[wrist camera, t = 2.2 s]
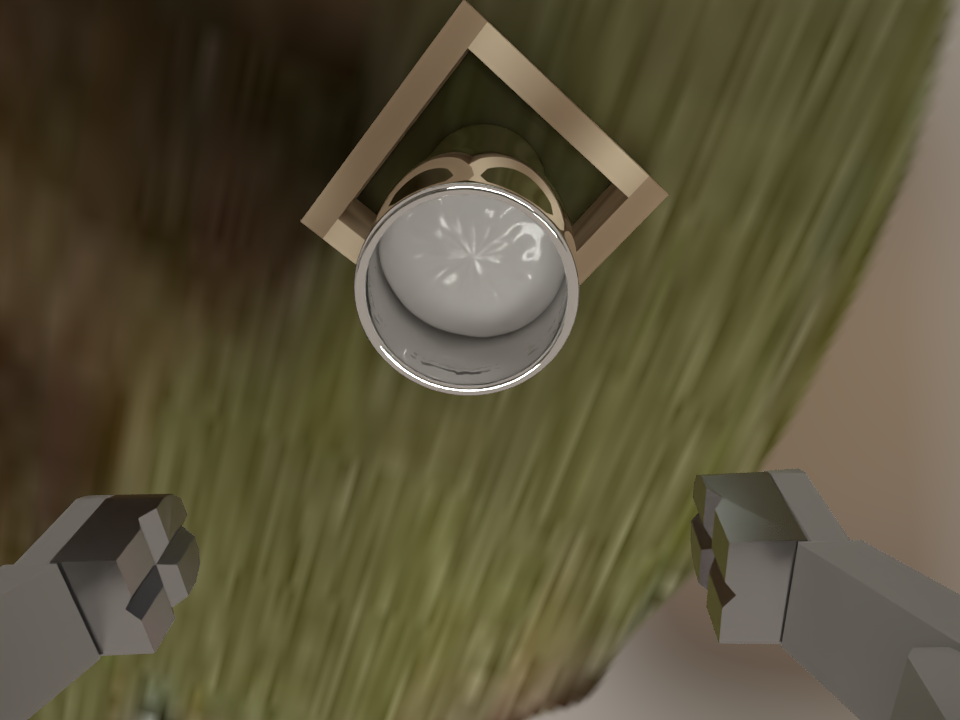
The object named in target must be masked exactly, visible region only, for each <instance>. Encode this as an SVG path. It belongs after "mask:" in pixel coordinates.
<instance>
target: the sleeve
mask: <svg viewBox="0 0 960 720" xmlns="http://www.w3.org/2000/svg"><path fill="white" fill-rule="evenodd" d="M469 50H470V51H472V52H473V53H474V54H475V55H476V56H477V57H478V58H479V59H480V60H481V61H482V62H483V63H484V64H486V65H487V66H488V67H489V68H490V69H491V70H492V71H493V72H494V73H495V74H496V75H497V76H498V77H499V78H501V79H502V80H503V81H504V82H505V83H506V84H507V85H508V86H509V87H510V88H511V89H512V90H513V91H515V92H516V93H517V94H518V95H519V96H520V97H521V98H522V99H523V100H524V101H525V102H526V103H527V104H528V105H530V106H531V107H532V108H533V109H534V110H535V111H536V112H537V113H538V114H539V115H540V116H541V117H542V118H544V119H545V120H546V121H547V122H548V123H549V124H550V125H551V126H552V127H553V128H554V129H555V130H556V131H558V132H559V133H560V134H561V135H562V136H563V137H564V138H565V139H566V140H567V141H568V142H569V143H570V144H571V145H573V146H574V147H575V148H576V149H577V150H578V151H579V152H580V153H581V154H582V155H583V156H584V157H585V158H587V159H588V160H589V161H590V162H591V163H592V164H593V165H594V166H595V167H596V168H597V169H598V170H599V171H600V172H602V173H603V174H604V175H605V176H606V177H607V178H608V179H609V180H610V181H611V182H612V183H611V185H610V186H609V187H608V188H607V189H606V190H605V191H604V192H603V193H602V194H601V195H600V196H599V197H598V198H597V200H596V201H595V202H594V203H593V204H592V205H591V206H590V207H589V208H588V209H587V210H586V211H585V212H584V214H583V215H582V216H581V217H580V218H579V219H578V220H577V221H576V222H575V223H574V224H573V225H572V230H573V235H574V240H575V245H576V254H577V273H578V279H579V286H580V285H581V284H582V283H583V282H584V281H585V280H586V279H587V278H588V277H589V275H590V274H591V273H592V272H593V271H594V270H595V269H596V268H597V267H598V266H599V265H600V264H601V263H602V262H603V261H604V260H605V259H606V258H607V257H608V256H609V255H610V254H611V253H612V252H613V251H614V250H615V249H616V248H617V247H618V246H619V245H620V244H621V243H622V242H623V241H624V240H625V239H626V238H627V237H628V236H629V235H630V234H631V233H632V232H633V231H634V230H635V229H636V228H637V227H638V226H639V224H640V223H641V222H642V221H643V220H644V219H645V218H646V217H647V216H648V215H649V214H650V213H651V212H652V211H653V210H654V209H655V208H656V207H657V206H658V205H659V204H660V203H661V202H662V201H663V200H664V199H665V198H666V197H667V196H668V195H669V194H668V193H667V192H666V191H665V190H664V189H663V188H662V187H661V186H660V185H659V184H658V183H657V182H656V181H655V180H654V179H653V178H652V177H651V176H650V175H649V174H648V173H647V172H646V171H645V170H644V169H643V168H642V167H641V166H640V165H638V164H637V163H636V162H635V161H634V160H633V159H632V158H631V157H630V156H629V155H628V154H627V153H626V152H625V151H624V150H623V149H622V148H621V147H620V146H619V145H617V144H616V143H615V142H614V141H613V140H612V139H611V138H610V137H609V136H608V135H607V134H606V133H605V132H604V131H603V130H602V129H601V128H600V127H599V126H598V125H597V124H595V123H594V122H593V121H592V120H591V119H590V118H589V117H588V116H587V115H586V114H585V113H584V112H583V111H582V110H581V109H580V108H579V107H578V106H577V105H576V104H575V103H573V102H572V101H571V100H570V99H569V98H568V97H567V96H566V95H565V94H564V93H563V92H562V91H561V90H560V89H559V88H558V87H557V86H556V85H555V84H554V83H552V82H551V81H550V80H549V79H548V78H547V77H546V76H545V75H544V74H543V73H542V72H541V71H540V70H539V69H538V68H537V67H536V66H535V65H534V64H533V63H532V62H530V61H529V60H528V59H527V58H526V57H525V56H524V55H523V54H522V53H521V52H520V51H519V50H518V49H517V48H516V47H515V46H514V45H513V44H512V43H511V42H509V41H508V40H507V39H506V38H505V37H504V36H503V35H502V34H501V33H500V32H499V31H498V30H497V29H496V28H495V27H494V26H493V25H492V24H491V23H490V22H489V21H487V20H486V19H485V18H484V17H483V16H482V15H481V14H480V13H479V12H478V11H477V10H476V9H475V8H474V7H473V6H472V5H471V4H470V3H468V2H467V1H465V0H463V1H462V2H461V4H460V5H459V6H458V8H457V9H456V11H455V12H454V13H453V15H452V16H451V17H450V19H449V20H448V21H447V23H446V24H445V26H444V27H443V28H442V30H441V31H440V32H439V34H438V35H437V36H436V38H435V39H434V40H433V42H432V43H431V45H430V46H429V47H428V49H427V50H426V51H425V53H424V54H423V55H422V57H421V58H420V60H419V61H418V62H417V64H416V65H415V66H414V68H413V69H412V70H411V72H410V73H409V75H408V76H407V77H406V79H405V80H404V81H403V83H402V84H401V85H400V87H399V88H398V89H397V91H396V92H395V94H394V95H393V96H392V98H391V99H390V100H389V102H388V103H387V104H386V106H385V107H384V109H383V110H382V111H381V113H380V114H379V115H378V117H377V118H376V119H375V121H374V122H373V123H372V125H371V126H370V128H369V129H368V130H367V132H366V133H365V134H364V136H363V137H362V138H361V140H360V141H359V143H358V144H357V145H356V147H355V148H354V149H353V151H352V152H351V153H350V155H349V156H348V158H347V159H346V160H345V162H344V163H343V164H342V166H341V167H340V168H339V170H338V171H337V172H336V174H335V175H334V177H333V178H332V179H331V181H330V182H329V183H328V185H327V186H326V187H325V189H324V190H323V192H322V193H321V194H320V196H319V197H318V198H317V200H316V201H315V202H314V204H313V205H312V206H311V208H310V209H309V211H308V212H307V213H306V215H305V216H304V217H303V219H302V220H301V222H302V223H303V224H304V225H306V226H307V227H308V228H310V229H311V230H312V231H313V232H315V233H316V234H317V235H318V236H320V237H321V238H322V239H324V240H325V241H326V242H327V243H329V244H330V245H331V246H333V247H334V248H335V249H336V250H338V251H339V252H340V253H342V254H343V255H344V256H345V257H347V258H348V259H349V260H351V261H352V262H353V263H354V264H357V260H358V256H359V253H360V251H361V248H362V246H363V244H364V242H365V240H366V238H367V236H368V234H369V231H370V229H371V226H372V224H373V221H374V219H375V217H376V214H375V213H374V212H372V211H371V210H370V209H369V208H367V207H366V206H365V205H364V204H363V203H361V202H360V201H359V200H358V199H357V197H358V196H359V195H360V193H361V192H362V191H363V189H364V188H365V187H366V186H367V184H368V183H369V182H370V180H371V179H372V178H373V176H374V175H375V174H376V172H377V171H378V170H379V168H380V167H381V166H382V165H383V163H384V162H385V161H386V159H387V158H388V157H389V155H390V154H391V153H392V151H393V150H394V149H395V148H396V146H397V145H398V144H399V142H400V141H401V140H402V138H403V137H404V136H405V134H406V133H407V132H408V130H409V129H410V128H411V127H412V125H413V124H414V123H415V121H416V120H417V119H418V117H419V116H420V115H421V113H422V112H423V111H424V109H425V108H426V107H427V106H428V104H429V103H430V102H431V100H432V99H433V98H434V96H435V95H436V94H437V92H438V91H439V90H440V89H441V87H442V86H443V85H444V83H445V82H446V81H447V79H448V78H449V77H450V75H451V74H452V73H453V71H454V70H455V69H456V68H457V66H458V65H459V64H460V62H461V61H462V60H463V58H464V57H465V56H466V54H467V53H468V52H469Z"/></svg>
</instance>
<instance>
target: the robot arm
mask: <svg viewBox="0 0 960 720" xmlns="http://www.w3.org/2000/svg"><path fill="white" fill-rule="evenodd" d="M693 499H694V502H695V505H696V507H697V510H698V514H697V515H696V516H695V517H694V518H693V519H692V521H691V551H692V559H693V564H694V569H695V572H696V576H697V579H698V582H699V584H700V585H702V586H703V587H704V588H706V589H707V590H708V595H707V609H708V612H709V615H710V618H711V621H712V624H713V627H714V630H715V633H716V636H717V639H718V642H719V643H741V644H745V643H747V644H782V646H781V647H782V648H783V649H784V650H785V651H786V652H788V653H789V654H790V655H791V656H792V657H793V658H794V659H795V660H796V661H797V662H798V663H799V664H800V665H801V666H803V667H804V668H805V669H806V670H807V671H808V672H809V673H810V674H811V675H812V676H814V678H815V679H817V680H818V681H819V682H820V683H821V684H822V685H823V686H824V687H825V688H826V689H827V690H828V691H829V692H831V693H832V694H833V695H834V696H835V697H836V698H837V699H838V700H839V701H840V702H841V703H842V704H844V705H845V706H846V707H847V708H848V709H849V710H850V711H851V712H852V713H853V714H855V716H857V717H858V718H859V719H860V720H960V594H958V593H956V592H954V591H952V590H951V589H949V588H947V587H945V586H944V585H942V584H940V583H938V582H936V581H934V580H933V579H931V578H929V577H927V576H925V575H924V574H922V573H920V572H918V571H916V570H915V569H913V568H911V567H909V566H907V565H906V564H903V563H902V562H900V561H898V560H896V559H895V558H893V557H891V556H889V555H887V554H886V553H884V552H882V551H880V550H878V549H877V548H875V547H873V546H871V545H869V544H868V543H866V542H864V541H862V540H850V539H849V537H848V536H847V534H846V533H845V531H844V530H843V528H842V527H841V525H840V524H839V522H838V521H837V519H836V518H835V516H834V515H833V514H832V512H831V510H830V509H829V507H828V506H827V504H826V503H825V501H824V500H823V499H822V497H821V496H820V494H819V492H818V491H817V490H816V488H815V487H814V485H813V484H812V482H811V481H810V479H809V478H808V476H807V475H806V473H805V472H804V471H802V470H800V469H785V470H770V471H764V472H751V473H729V474H707V475H696V478H695V481H694V489H693ZM186 517H187V512H186V510H185V507H184V505H183V502H182V500H181V498H179V497H177V496H175V495H174V494H138V495H114V496H113V495H97V496H85V497H82V498H79V499H76V500H75V501H74V502H73V503H72V504H71V505H70V506H69V507H68V509H67V510H66V511H65V512H64V513H63V514H62V515H61V516H60V517H59V518H58V519H57V520H56V521H55V522H54V523H53V524H52V525H51V526H50V527H49V528H48V529H47V530H46V532H45V533H44V534H43V535H42V536H41V537H40V538H39V539H38V540H37V541H36V542H35V543H34V544H33V545H32V546H31V547H30V548H29V549H28V550H27V551H26V552H25V553H24V555H23V556H22V557H21V558H20V559H19V560H18V561H17V562H16V563H15V564H14V565H3V566H1V567H0V720H28V719H29V718H30V717H31V716H33V715H34V714H35V713H36V712H37V711H39V710H40V709H41V708H42V707H43V706H45V705H46V704H47V703H48V702H49V701H50V700H52V699H53V698H54V697H55V696H56V695H58V694H59V693H60V692H61V691H62V690H64V689H65V688H66V687H67V686H68V685H70V684H71V683H72V682H73V681H74V680H76V679H77V678H78V677H79V676H80V675H82V674H83V673H84V672H85V671H86V670H87V669H89V668H90V667H91V666H92V665H93V664H95V663H96V662H97V661H98V660H99V659H100V656H105V655H126V654H147V653H155V652H156V650H157V648H158V647H159V645H160V643H161V641H162V640H163V638H164V636H165V635H166V633H167V631H168V630H169V628H170V626H171V625H172V623H173V621H174V619H175V615H174V612H173V608H172V607H173V606H175V605H176V604H178V603H179V602H180V601H182V600H183V599H185V598H186V597H187V596H188V595H189V594H190V592H191V590H192V588H193V586H194V585H195V583H196V580H197V575H198V571H199V566H200V557H199V548H198V545H197V542H196V539H195V536H193V535H192V534H191V533H190V532H189V531H187V530H186V529H185V528H184V527H183V526H182V525H183V523H184V521H185V519H186Z"/></svg>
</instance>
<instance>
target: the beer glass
mask: <svg viewBox="0 0 960 720" xmlns="http://www.w3.org/2000/svg"><path fill="white" fill-rule="evenodd" d="M354 298H355V304H356V309H357V313H358V317H359V320H360V323H361V325H362V328H363V330H364V332H365V334H366V336H367V338H368V339H369V341H370V343H371V344H372V346H373V347H374V348H375V350H376V351H377V352H378V354H379V355H380V356H381V357H382V358H383V359H384V360H385V361H386V362H387V363H388V364H389V365H390V366H391V367H392V368H393V369H395V370H396V371H397V372H399V373H400V374H401V375H403V376H404V377H406V378H408V379H409V380H411V381H413V382H415V383H417V384H419V385H421V386H423V387H426V388H429V389H432V390H435V391H438V392H442V393H447V394H453V395H465V396H474V395H485V394H491V393H496V392H500V391H504V390H507V389H510V388H512V387H515V386H517V385H519V384H521V383H523V382H525V381H527V380H528V379H530V378H532V377H533V376H535V375H536V374H537V373H539V372H540V371H541V370H542V369H544V368H545V367H546V366H547V365H548V364H549V363H550V362H551V361H552V360H553V359H554V358H555V356H556V355H557V354H558V353H559V351H560V350H561V349H562V347H563V346H564V344H565V342H566V340H567V339H568V337H569V335H570V333H571V330H572V328H573V325H574V322H575V319H576V315H577V310H578V304H579V279H578V273H577V254H576V245H575V240H574V235H573V230H572V226H571V222H570V219H569V216H568V214H567V211H566V209H565V207H564V205H563V203H562V201H561V199H560V197H559V195H558V193H557V191H556V190H555V188H554V187H553V185H552V184H551V183H550V182H549V180H548V179H547V178H546V176H545V171H544V168H543V165H542V163H541V161H540V159H539V157H538V155H537V154H536V152H535V151H534V149H533V148H532V147H531V146H530V144H529V143H528V142H527V141H526V140H524V139H523V138H522V137H521V136H519V135H518V134H516V133H515V132H513V131H511V130H509V129H506V128H504V127H500V126H496V125H490V124H478V125H471V126H467V127H464V128H461V129H459V130H457V131H455V132H453V133H451V134H450V135H448V136H447V137H446V138H444V139H443V140H442V141H441V142H440V143H439V144H438V145H437V146H436V148H435V149H434V150H433V152H432V153H431V155H430V156H429V157H428V158H426V159H424V160H423V161H421V162H420V163H418V164H417V165H415V166H414V167H413V168H412V169H411V170H410V171H408V172H407V173H406V174H405V175H404V176H403V177H402V179H401V180H400V181H399V182H398V183H397V184H396V185H395V186H394V187H393V189H392V190H391V191H390V193H389V194H388V196H387V197H386V199H385V200H384V202H383V204H382V206H381V207H380V209H379V211H378V213H377V215H376V217H375V219H374V221H373V224H372V226H371V229H370V231H369V234H368V236H367V238H366V240H365V242H364V244H363V246H362V248H361V251H360V253H359V256H358V260H357V264H356V269H355V275H354Z"/></svg>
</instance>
